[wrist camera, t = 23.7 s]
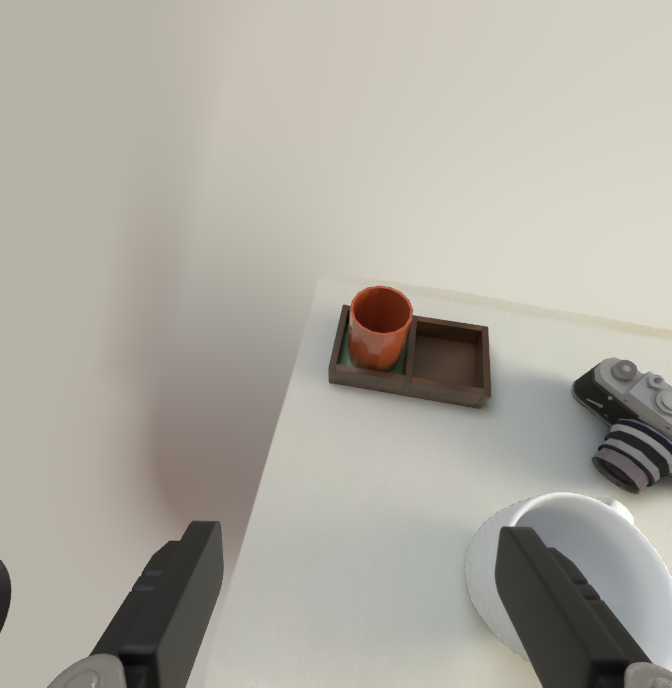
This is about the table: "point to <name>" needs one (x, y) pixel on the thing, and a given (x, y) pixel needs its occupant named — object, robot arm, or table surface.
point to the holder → (424, 363)
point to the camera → (629, 422)
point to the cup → (378, 328)
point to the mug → (582, 566)
